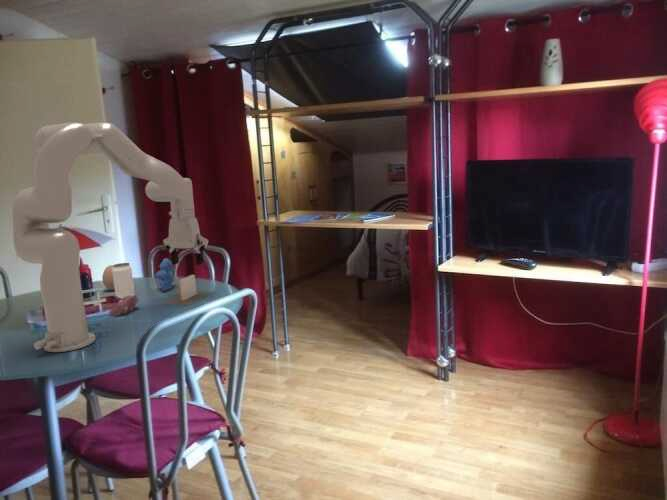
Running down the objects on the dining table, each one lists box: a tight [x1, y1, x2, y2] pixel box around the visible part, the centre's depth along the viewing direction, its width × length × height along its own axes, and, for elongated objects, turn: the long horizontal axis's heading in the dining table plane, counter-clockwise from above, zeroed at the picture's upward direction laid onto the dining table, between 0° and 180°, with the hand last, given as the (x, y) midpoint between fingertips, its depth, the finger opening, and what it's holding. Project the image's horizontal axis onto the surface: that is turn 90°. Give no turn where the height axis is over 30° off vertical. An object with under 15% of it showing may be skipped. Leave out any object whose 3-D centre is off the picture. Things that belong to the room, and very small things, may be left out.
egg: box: [102, 264, 115, 291], centre depth 198 cm, size 7×7×10 cm
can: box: [112, 262, 136, 300], centre depth 186 cm, size 6×6×12 cm
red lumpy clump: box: [108, 295, 140, 317], centre depth 166 cm, size 10×5×7 cm, turn 169°
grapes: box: [154, 257, 175, 292], centre depth 192 cm, size 12×7×12 cm, turn 1°
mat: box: [158, 290, 215, 306], centre depth 179 cm, size 16×12×1 cm
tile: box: [177, 274, 197, 301], centre depth 179 cm, size 8×1×7 cm, turn 162°
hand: (187, 264), depth 179 cm, fingers open, 9 cm apart
